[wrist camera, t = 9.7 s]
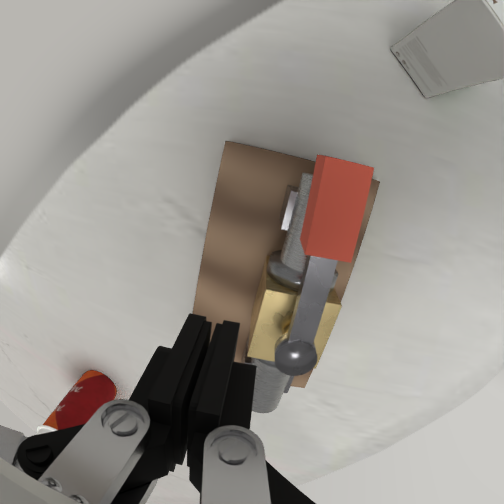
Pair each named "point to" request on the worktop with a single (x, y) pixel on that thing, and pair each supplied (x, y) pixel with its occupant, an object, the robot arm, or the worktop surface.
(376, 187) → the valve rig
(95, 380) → the paper cup
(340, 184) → the valve lever
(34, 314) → the worktop surface
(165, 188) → the worktop surface
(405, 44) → the skincare box
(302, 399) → the worktop surface
